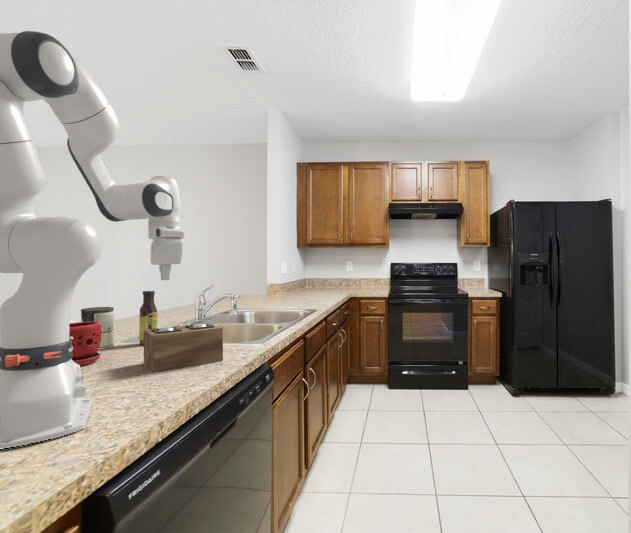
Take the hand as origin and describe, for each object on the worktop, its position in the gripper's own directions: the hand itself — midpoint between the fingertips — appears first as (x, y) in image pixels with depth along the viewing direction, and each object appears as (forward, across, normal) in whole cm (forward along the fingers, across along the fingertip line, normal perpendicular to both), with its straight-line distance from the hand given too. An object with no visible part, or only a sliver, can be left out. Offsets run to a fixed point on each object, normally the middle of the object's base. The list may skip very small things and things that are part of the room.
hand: (165, 280), depth 112 cm
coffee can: (+25, -40, -13) cm, 49 cm away
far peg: (+25, 0, +10) cm, 27 cm away
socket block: (+25, 0, +5) cm, 25 cm away
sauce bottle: (+25, -35, +3) cm, 43 cm away
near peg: (+25, 0, 0) cm, 25 cm away
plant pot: (+25, -19, -21) cm, 38 cm away
